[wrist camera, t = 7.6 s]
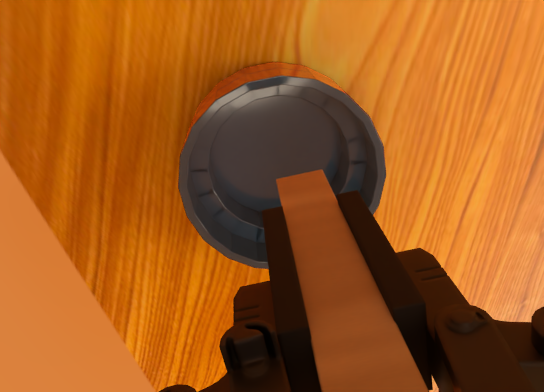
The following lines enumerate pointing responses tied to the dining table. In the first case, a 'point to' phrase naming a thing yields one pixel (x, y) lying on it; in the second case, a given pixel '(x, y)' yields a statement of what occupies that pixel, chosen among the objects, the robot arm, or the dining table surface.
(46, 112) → the dining table surface
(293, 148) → the mixing bowl
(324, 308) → the stirring stick
